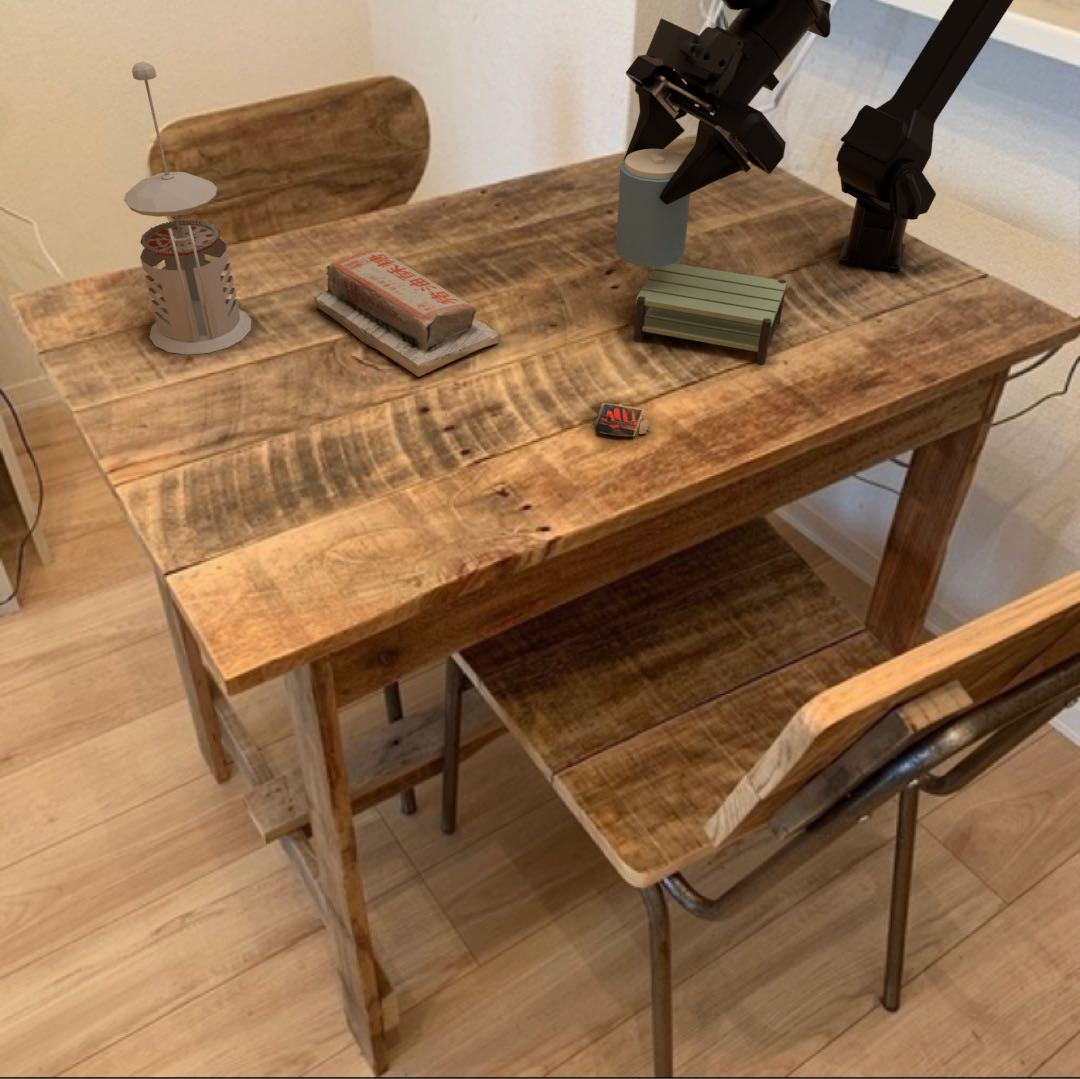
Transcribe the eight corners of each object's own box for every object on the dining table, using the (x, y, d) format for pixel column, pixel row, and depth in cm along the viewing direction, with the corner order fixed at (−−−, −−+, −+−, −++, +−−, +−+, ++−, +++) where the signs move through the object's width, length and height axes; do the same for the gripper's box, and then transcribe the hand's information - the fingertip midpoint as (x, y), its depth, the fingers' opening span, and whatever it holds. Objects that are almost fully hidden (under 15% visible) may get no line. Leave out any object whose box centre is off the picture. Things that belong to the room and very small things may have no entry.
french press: (243, 297, 110) (195, 40, 94) (262, 353, 102) (212, 81, 86) (144, 313, 107) (76, 51, 91) (156, 371, 99) (83, 94, 83)
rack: (655, 299, 111) (658, 259, 108) (780, 321, 107) (788, 280, 104) (632, 341, 104) (635, 299, 101) (764, 365, 101) (772, 323, 98)
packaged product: (305, 264, 105) (388, 236, 110) (312, 308, 109) (392, 279, 114) (414, 334, 95) (500, 299, 100) (418, 380, 98) (501, 344, 103)
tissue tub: (615, 235, 106) (620, 141, 100) (682, 237, 106) (691, 143, 100) (616, 266, 101) (621, 169, 95) (686, 267, 101) (695, 171, 95)
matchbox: (595, 437, 92) (596, 433, 91) (593, 404, 95) (594, 400, 95) (650, 438, 92) (650, 434, 91) (646, 405, 95) (646, 401, 95)
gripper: (650, -43, 96) (540, 103, 99) (777, 9, 83) (647, 174, 87) (713, 39, 104) (610, 171, 107) (838, 97, 91) (717, 245, 95)
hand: (642, 187), depth 99 cm, fingers closed on tissue tub, 6 cm apart
